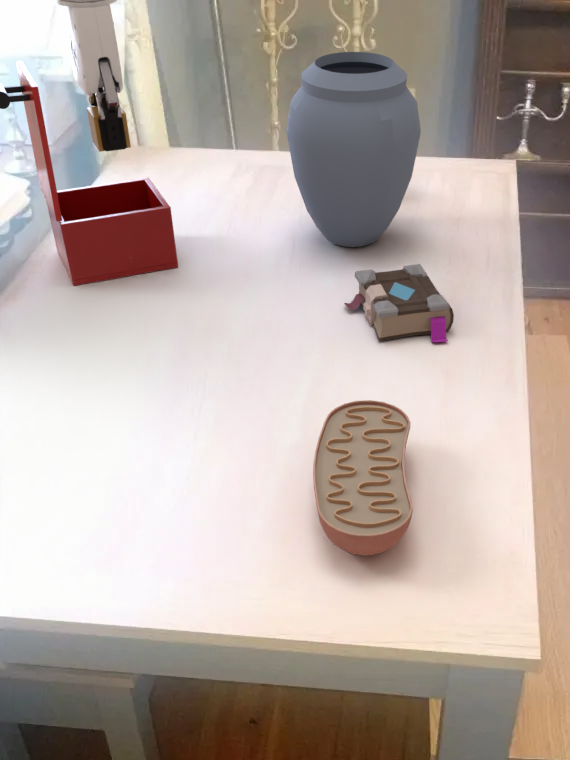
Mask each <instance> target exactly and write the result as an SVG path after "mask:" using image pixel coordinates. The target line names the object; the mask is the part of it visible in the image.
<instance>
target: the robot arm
mask: <svg viewBox="0 0 570 760" xmlns="http://www.w3.org/2000/svg"><path fill="white" fill-rule="evenodd" d="M55 1H56V4H57V5H59V6H62V7H63V10H64V18H65V26H66V27H65V28H66V34H67V41H68V47H69V54H70V60H71V66H72V74H73V77H74V80H75V82H76V83H77V85H78V87H80V89H81V90H82V91H83V93H84V94H85V95H87V96H88V102H89V105H90V106H89V107H95V106H98V110H99V115H100V119H98V122H99V128H100V134H101V140H102V145H103V149H104V150H105V151H104V152H113V151H121V150H126V149H128V148H127V143H126V137H125V131H124V124H123V118H122V115H121V109H120V107H121V105H120V100H119V99H120V98H119V94H120V93H122V91H123V89H124V84H123V73H122V67H121V60H120V55H119V47H118V42H117V36H116V29H115V23H114V19H113V14H112V8H111V4H114V3H116V2H117V1H118V0H55Z"/></svg>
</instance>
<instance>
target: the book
mask: <svg viewBox="0 0 570 760" xmlns="http://www.w3.org/2000/svg"><path fill="white" fill-rule="evenodd" d="M354 279H356V281H357V283H358V293H357V294H355V296H354V297H353V299H352V300H351V301H350V302H343V305H345V307H346V308H347V309H348V310H353V311H354V310H356V309H358V308H359V307H360V308H361V309H362V311H363V312H364V317H365V318H366V320H367V321H368V323H369V326H370V328H371V327H373V329H374V332H375V335H376V338H377V341H378V342H379V343H380V342H384V341H389V340H395V339H400V338H405V337H407V338H408V337H410V336H411V337H413V336H423V335H424V336H425V335H430V340H431V342H432V343H443V342H449V340H448V339H447V334H448V332H449V331H450V330H451V328H452V325H453V323H454V319H455V318H454V317H455V314H454V311H453V308H452V306H451V305H450V303H449V302H448V301H447V299H446V298H444V296H443V295H442V294H441V293H440V292H439V291H438V289H437V287H436V286H435V285H434V283H433V282H432V280H431V278H430V276H429V275H428V273H427V272H426V271H425V269H424V267H423V265H422V264H421V263H415V264H408V265H404V266H403V267H402V268H401V269H396V270H395V269H394V270H388V271H378V272H376V271H375V270H373V269H362V270H356V271H354Z"/></svg>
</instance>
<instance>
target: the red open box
mask: <svg viewBox="0 0 570 760" xmlns="http://www.w3.org/2000/svg"><path fill="white" fill-rule="evenodd" d="M57 195H58V200H59V206H60V211H61V217H62V221H56V219H55V217H54V215H53V213H52V211H51V209H50V207H49V205H48V203H47V201H46V200H45V203H46V206H47V212H48V216H49V220H50V224H51V229H52V234H53V238H54V243H55V247H56V251H57V254H58V255H59V258H60V260H61V262H62V265H63V266H64V268H65V270H66V272H67V276H68V277H69V279H70V281H71V284H72V285H73V286H74V287H75V286H80V285H86V284H91V283H97V282H102V281H103V282H104V281H109V280H114V279H119V278H125V277H131V276H138V275H142V274H148V273H149V274H150V273H154V272H160V271H164V270H172V269H176V268H177V269H178V268H179V263H178V262H179V261H178V254H177V247H176V246H177V245H176V238H175V231H174V224H173V216H172V208H171V206H170V205H169V203H168V202H167V200H166V199H165V198H164V196H163V195H162V193H161V192H160V191H159V189H158V188H157V187H156V186H155V184H154V183H153V181H152V180H151V178H150V177H148V176H147V177H141V178H135V179H134V178H133V179H127V180H120V181H113V182H108V183H107V182H106V183H100V184H93V185H87V186H79V187H74V188H73V187H72V188H66V189H59V190H57Z"/></svg>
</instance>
